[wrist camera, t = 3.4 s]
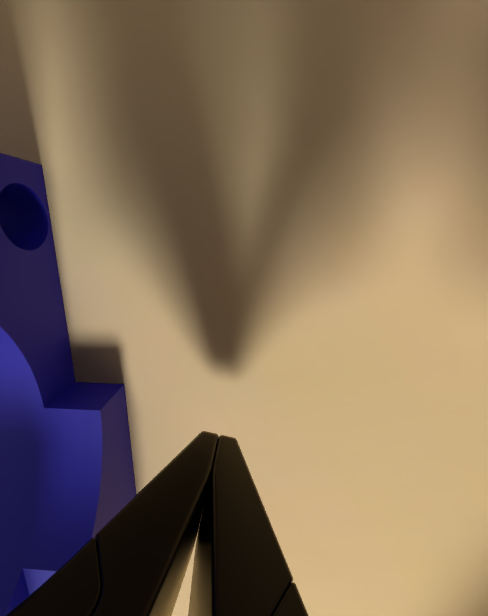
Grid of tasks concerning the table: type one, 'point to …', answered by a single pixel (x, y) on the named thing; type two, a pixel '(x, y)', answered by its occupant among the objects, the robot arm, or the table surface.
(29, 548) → the cable clip
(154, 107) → the table surface
